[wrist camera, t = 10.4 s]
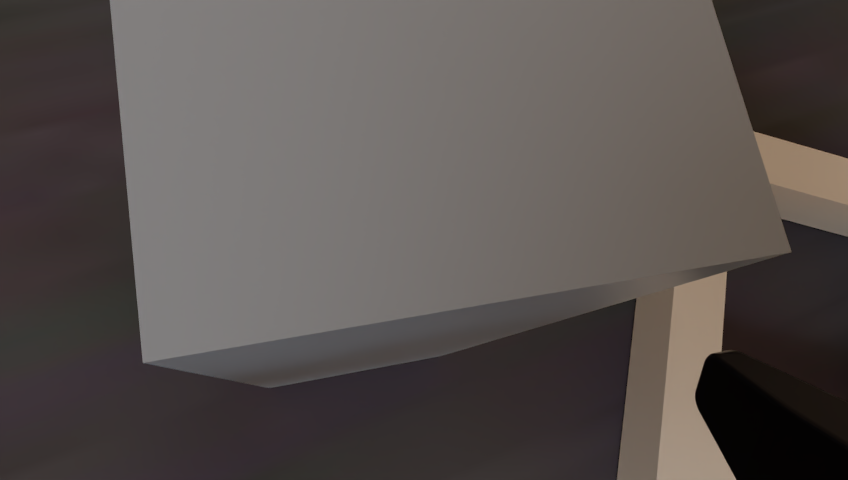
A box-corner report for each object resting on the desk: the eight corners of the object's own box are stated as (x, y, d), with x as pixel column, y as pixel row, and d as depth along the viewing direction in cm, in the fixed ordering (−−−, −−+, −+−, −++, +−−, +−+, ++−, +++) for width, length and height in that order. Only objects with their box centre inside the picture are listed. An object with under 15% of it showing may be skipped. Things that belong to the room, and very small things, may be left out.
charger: (442, 355, 17) (796, 250, 5) (267, 388, 16) (131, 364, 4) (411, 197, 18) (641, -237, 6) (245, 219, 17) (79, -254, 5)
